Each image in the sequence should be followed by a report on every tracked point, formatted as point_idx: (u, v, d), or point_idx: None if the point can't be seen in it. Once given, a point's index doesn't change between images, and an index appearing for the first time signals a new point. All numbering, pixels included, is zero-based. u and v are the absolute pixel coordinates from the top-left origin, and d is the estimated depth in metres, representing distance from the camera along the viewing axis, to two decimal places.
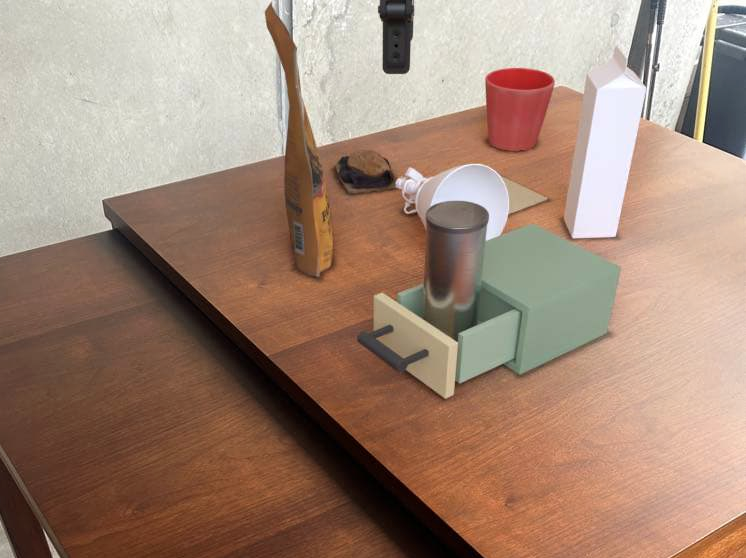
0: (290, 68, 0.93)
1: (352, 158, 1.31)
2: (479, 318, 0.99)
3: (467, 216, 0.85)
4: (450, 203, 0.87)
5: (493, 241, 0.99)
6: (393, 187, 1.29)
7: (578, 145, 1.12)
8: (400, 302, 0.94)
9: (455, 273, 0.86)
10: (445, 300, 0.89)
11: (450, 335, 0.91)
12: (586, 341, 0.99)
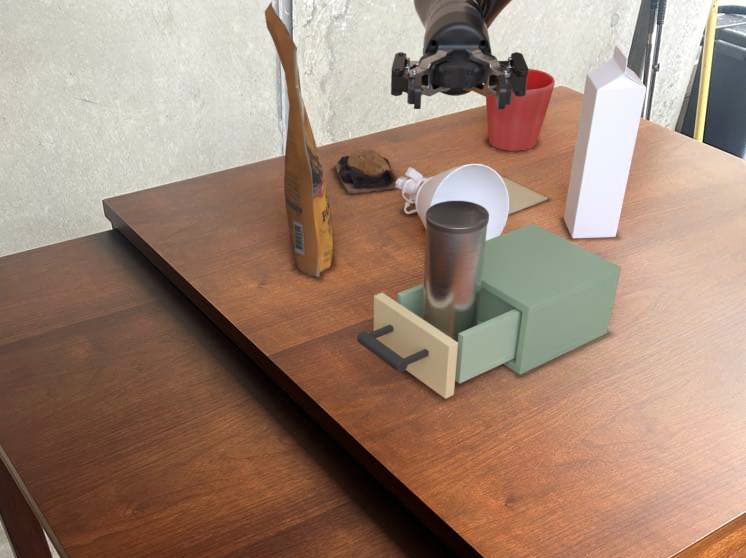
0: (290, 68, 0.93)
1: (352, 158, 1.31)
2: (479, 318, 0.99)
3: (467, 216, 0.85)
4: (450, 203, 0.87)
5: (493, 241, 0.99)
6: (393, 187, 1.29)
7: (578, 145, 1.12)
8: (400, 302, 0.94)
9: (455, 273, 0.86)
10: (445, 300, 0.89)
11: (450, 335, 0.91)
12: (586, 341, 0.99)
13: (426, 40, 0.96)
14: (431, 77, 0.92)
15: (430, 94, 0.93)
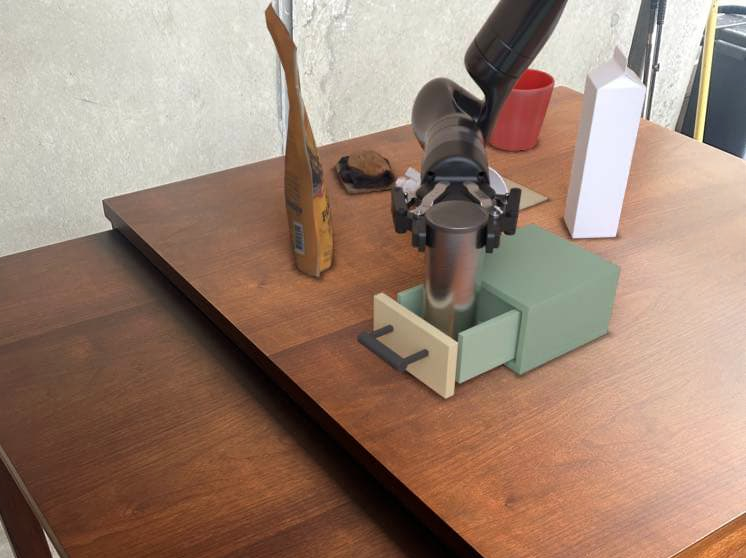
0: (290, 68, 0.93)
1: (353, 158, 1.31)
2: (479, 318, 0.99)
3: (467, 216, 0.84)
4: (450, 203, 0.87)
5: None
6: None
7: (578, 145, 1.12)
8: (400, 302, 0.94)
9: (455, 273, 0.86)
10: (445, 300, 0.89)
11: (450, 335, 0.91)
12: (586, 341, 0.99)
13: (423, 169, 0.94)
14: None
15: None
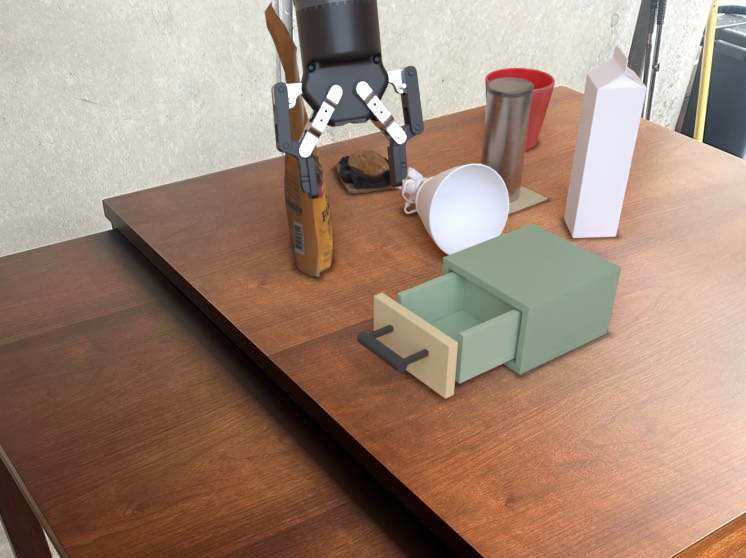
0: (290, 68, 0.93)
1: (353, 158, 1.31)
2: (479, 318, 0.99)
3: (513, 87, 1.15)
4: (518, 79, 1.17)
5: (493, 241, 0.99)
6: (393, 187, 1.29)
7: (578, 145, 1.12)
8: (400, 302, 0.94)
9: (492, 128, 1.18)
10: (486, 148, 1.20)
11: None
12: (586, 341, 0.99)
13: (305, 36, 0.78)
14: None
15: None
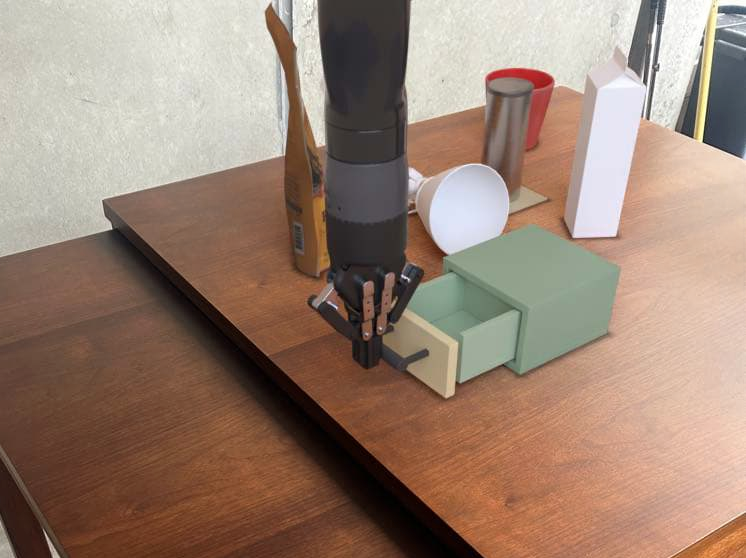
0: (290, 68, 0.93)
1: None
2: (479, 318, 0.99)
3: (513, 87, 1.15)
4: (518, 79, 1.17)
5: (493, 241, 0.99)
6: None
7: (578, 145, 1.12)
8: None
9: (492, 128, 1.18)
10: (486, 148, 1.20)
11: None
12: (586, 341, 0.99)
13: (345, 243, 0.77)
14: None
15: None
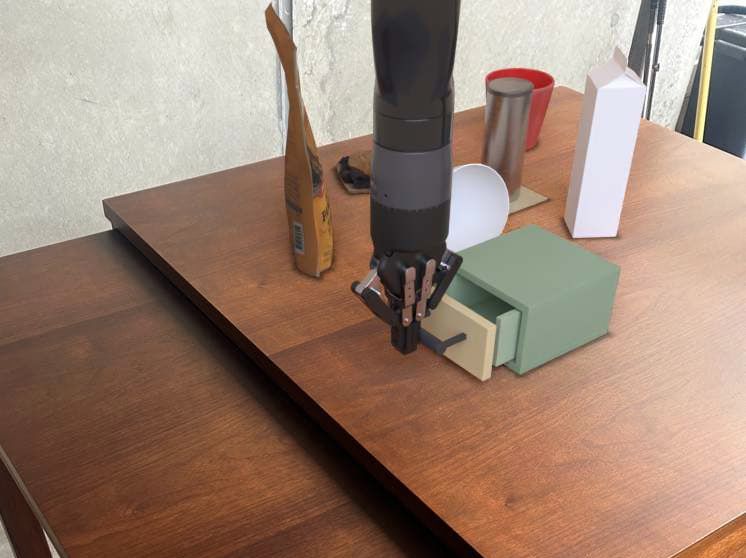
0: (290, 68, 0.93)
1: (353, 158, 1.31)
2: None
3: (513, 87, 1.15)
4: (518, 79, 1.17)
5: (493, 241, 0.99)
6: None
7: (578, 145, 1.12)
8: None
9: (492, 128, 1.18)
10: (486, 148, 1.20)
11: None
12: (586, 341, 0.99)
13: (390, 229, 0.79)
14: None
15: None
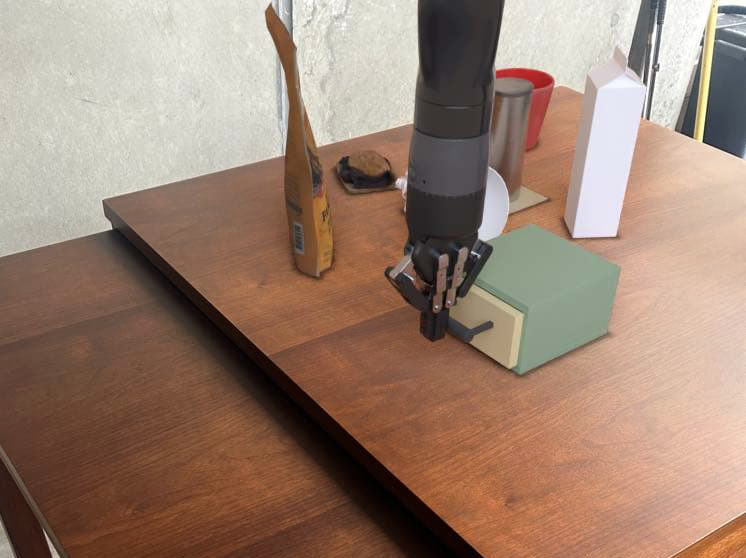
0: (290, 68, 0.93)
1: (353, 158, 1.31)
2: None
3: (513, 87, 1.15)
4: (518, 79, 1.17)
5: (493, 241, 0.99)
6: (393, 187, 1.29)
7: (578, 145, 1.12)
8: (463, 277, 0.98)
9: (492, 128, 1.18)
10: None
11: None
12: (586, 341, 0.99)
13: (426, 215, 0.81)
14: None
15: None
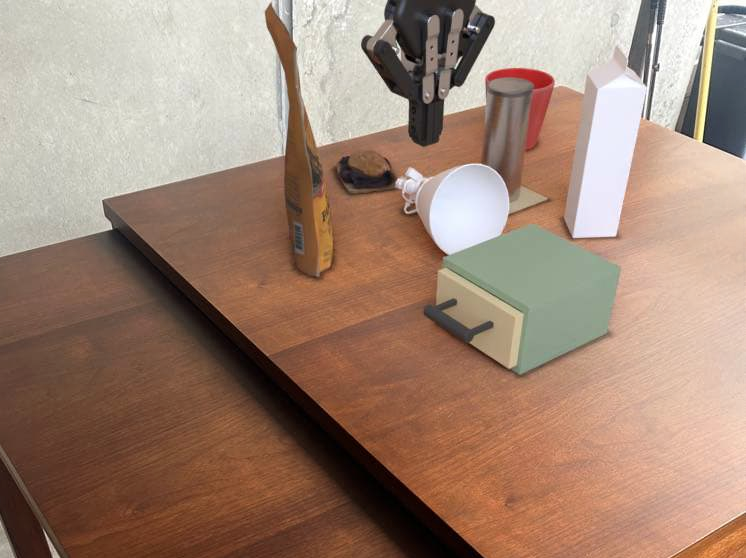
0: (290, 68, 0.93)
1: (353, 158, 1.31)
2: None
3: (513, 87, 1.15)
4: (518, 79, 1.17)
5: (493, 241, 0.99)
6: (393, 187, 1.29)
7: (578, 145, 1.12)
8: (463, 277, 0.98)
9: (492, 128, 1.18)
10: (486, 148, 1.20)
11: None
12: (586, 341, 0.99)
13: None
14: None
15: None
